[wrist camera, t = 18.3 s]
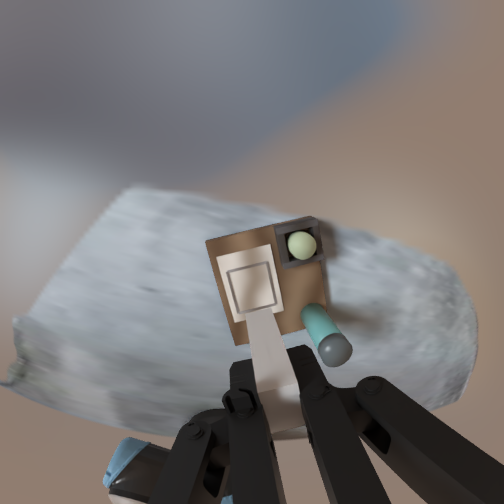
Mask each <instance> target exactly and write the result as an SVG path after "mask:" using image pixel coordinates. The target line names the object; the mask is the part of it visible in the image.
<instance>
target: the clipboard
mask: <svg viewBox="0 0 504 504" xmlns="http://www.w3.org/2000/svg"><path fill="white" fill-rule="evenodd" d="M296 230H302V231H305V232H306V233H308V234H309V235H311V236H312V237H313V238H314V239H315V241H316V250H315V253H314V254H313V255H312V256H311V257H310V258H308V259H305V260H301V259H298V258H296V257H295V256H294V255H293V254H292V253H291V252H290V251H289V250H288V248H287V245H286V241H287V238H288V236H289V234H290V233H292V232H293V231H296ZM205 243H206V247H207V251H208V254H209V258H210V261H211V265H212V269H213V272H214V276H215V279H216V283H217V286H218V290H219V293H220V297H221V300H222V303H223V307H224V310H225V313H226V317H227V320H228V323H229V327H230V330H231V333H232V336H233V339H234V343H235V346H238V345H242V344H246V343H250V342H249V336H248V329H247V323H246V316H245V314H246V313H250V312H255V311H259V310H263V309H267V308H271V309H272V312H273V314H274V317H275V320H276V323H277V326H278V328H279V331H280V334H281V335H283V334H287V333H291V332H294V331H298V330H302V329H305V328H306V327H305V326H304V324H303V322H302V320H301V317H300V314H301V311H302V309H303V308H304V307H305V306H306V305H308V304H310V303H318V304H320V305H321V306H322V307H323V309H324V310H325V311H326V313H327V309H326V301H325V293H324V286H323V279H322V272H321V265H320V260H324V255H323V249H322V243H321V237H320V231H319V225H318V219H316V218H314V217H312V216H307V217H303V218H298V219H294V220H290V221H285V222H281V223H277V224H272V225H268V226H264V227H260V228H255V229H251V230H247V231H243V232H239V233H235V234H231V235H226V236H222V237H218V238H214V239H210V240H206V242H205Z"/></svg>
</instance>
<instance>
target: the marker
mask: <svg viewBox="0 0 504 504" xmlns="http://www.w3.org/2000/svg"><path fill="white" fill-rule="evenodd" d="M300 317H301V320H302V322H303V324H304V326H305V327H306V329H307V331H308V333H309V335H310V337H311V339H312V340H313V342H314V344H315V346H316V348H317V350H318V353H319V355H320V357H321V359H322V361H323V363H324V364H325V365H326V366H328V367H338V366H340V365H342V364H344V363H345V362H347V361H348V360H349V358H350V357H351V355H352V351H353V349H352V345H351V344H350V343H349V341H348V340H347V339H346V337H345V336H344V335H343V334H342V333H341V332H340V330H339V329H338V328H337V326H336V325H335V323H334V322H333V321H332V319H331V318H330V317H329V315H328V314H327V313H326V311H325V310H324V309H323V307H322V306H321V305H320V304H318V303H310V304H308V305H306V306H305V307H304V308H303V309H302V311H301V314H300Z"/></svg>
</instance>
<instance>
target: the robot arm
mask: <svg viewBox="0 0 504 504" xmlns="http://www.w3.org/2000/svg"><path fill="white" fill-rule="evenodd" d="M245 316H246V323H247V329H248V336H249V342H250V349H251V355H252V358H251V359H247V360H242V361H238V362H233V364H232V366H231V368H230V390H229V391H227V392H226V393H225V394H224V396H223V398H222V402H223V405H224V407H225V409H213V410H207V411H204V412H201V413H199V414H197V415H195V416H194V417H193V418H192V419H191V420H190V421H189V423H187V424H185V425H184V426H182V428H181V429H180V431H179V433H178V435H177V437H176V440H175V442H174V444H173V446H172V449H171V450H169V449H166V448H163V447H160V446H157V445H154V444H151V442H145V441H141V440H138V439H135V438H132V437H128V438H125V439H124V440H122V441H121V442H120V444H119V446H118V448H117V449H116V451H115V453H114V455H113V457H112V459H111V462H110V464H109V466H108V468H107V471H106V474H105V476H104V479H103V484H104V485H105V486H106V487H107V488H110V491H109V495H108V497H109V498H110V500H111V501H112V503H113V504H286V499H285V495H284V490H283V485H282V481H281V476H280V472H279V466H278V462H277V457H276V452H275V447H274V442H273V440H272V436H271V433H276V432H280V431H284V430H288V429H292V428H296V427H300V426H304V425H305V424H306V427H307V433H308V438H309V443H311V446H312V449H313V452H314V455H315V458H316V461H317V464H318V467H319V471H320V474H321V477H322V480H323V483H324V486H325V489H326V492H327V495H328V498H329V501H330V504H391V502H390V500H389V498H388V496H387V494H386V491H385V489H384V487H383V485H382V483H381V481H380V479H379V477H378V475H377V473H376V471H375V469H374V467H373V465H372V463H371V461H370V458H369V456H368V454H367V452H366V450H365V448H364V447H363V444H362V442H361V440H360V438H361V439H362V440H363V441H364V442H365V443H366V444H367V445H368V446H369V447H370V448H371V449H372V450H373V451H374V452H375V453H376V454H377V455H378V456H379V457H380V458H381V459H382V460H383V461H384V462H385V463H386V464H387V465H388V466H389V467H390V468H391V469H392V470H393V471H394V472H395V473H396V474H397V475H398V476H399V477H400V478H401V479H402V480H403V481H404V482H405V483H406V484H407V485H408V486H409V487H410V488H411V489H412V490H414V491H415V492H416V493H417V494H418V495H419V496H420V497H421V498H422V499H423V500H424V501H425V502H427V503H428V504H504V465H502V464H501V463H499V462H498V461H497V460H495V459H494V458H492V457H491V456H489V455H488V454H487V453H485V452H484V451H482V450H481V449H480V448H478V447H477V446H475V445H474V444H473V443H471V442H470V441H468V440H467V439H465V438H464V437H463V436H461V435H460V434H459V433H457V432H456V431H455V430H453V429H451V428H450V427H449V426H448V425H446V424H445V423H443V422H442V421H441V420H439V419H438V418H437V417H435V416H434V415H433V414H431V413H430V412H429V411H427V410H426V409H425V408H423V407H422V406H421V405H419V404H418V403H417V402H415V401H414V400H412V399H411V398H410V397H408V396H407V395H406V394H404V393H403V392H402V391H400V390H399V389H398V388H397V387H395V386H394V385H393V384H391V383H390V382H389V381H387V380H386V379H384V378H382V377H379V376H369V377H366V378H364V379H362V380H361V381H359V382H358V384H357V386H356V387H353V388H337V387H334V386H332V385H331V384H329V383H328V381H327V379H326V377H325V375H324V373H323V371H322V369H321V367H320V365H319V363H318V362H317V359H316V357H315V355H314V353H313V351H312V349H311V348H309V347H308V346H306V345H305V344H304V345H300V346H296V347H293V348H289V349H286V348H285V345H284V343H283V340H282V337H281V334H280V331H279V328H278V326H277V323H276V320H275V317H274V314H273V312H272V309H271V308H267V309H263V310H259V311H255V312H250V313H246V314H245ZM359 437H360V438H359Z"/></svg>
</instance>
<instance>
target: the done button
mask: <svg viewBox="0 0 504 504" xmlns="http://www.w3.org/2000/svg"><path fill="white" fill-rule="evenodd" d="M286 245H287V248H288V250H289V251H290V252H291V253H292V254H293V255H294V256H295V257H296V258H298V259H301V260H305V259H308V258H310V257H311V256H312V255H313V254H314V253H315V250H316V241H315V239H314V238H313V237H312V236H311V235H309V234H308V233H306V232H305V231H302V230H296V231H293V232H292V233H290V234H289V236H288V238H287V241H286Z"/></svg>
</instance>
